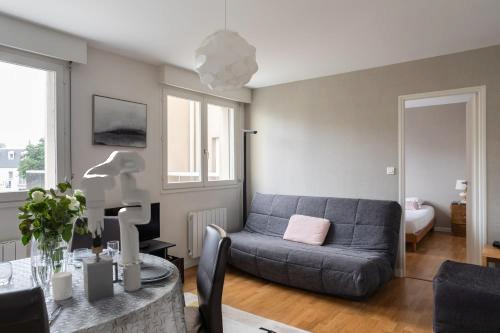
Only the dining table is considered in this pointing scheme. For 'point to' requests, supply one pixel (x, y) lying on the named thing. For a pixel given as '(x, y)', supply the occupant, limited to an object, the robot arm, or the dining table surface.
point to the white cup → (62, 285)
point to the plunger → (97, 251)
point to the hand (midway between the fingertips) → (97, 246)
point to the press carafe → (99, 277)
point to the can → (132, 276)
